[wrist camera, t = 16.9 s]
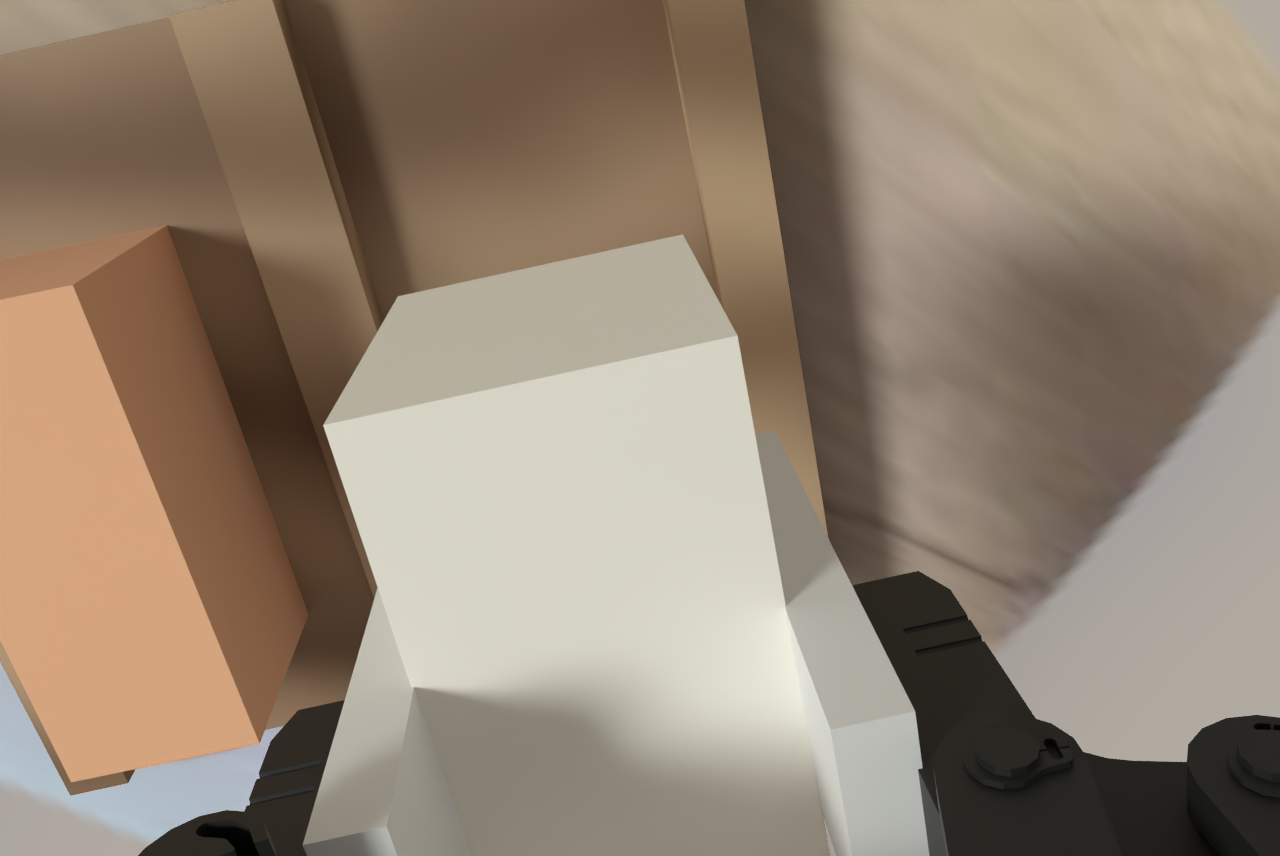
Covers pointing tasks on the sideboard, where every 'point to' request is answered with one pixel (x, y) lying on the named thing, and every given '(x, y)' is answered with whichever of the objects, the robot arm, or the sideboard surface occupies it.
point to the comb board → (395, 207)
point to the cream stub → (583, 560)
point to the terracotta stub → (131, 516)
